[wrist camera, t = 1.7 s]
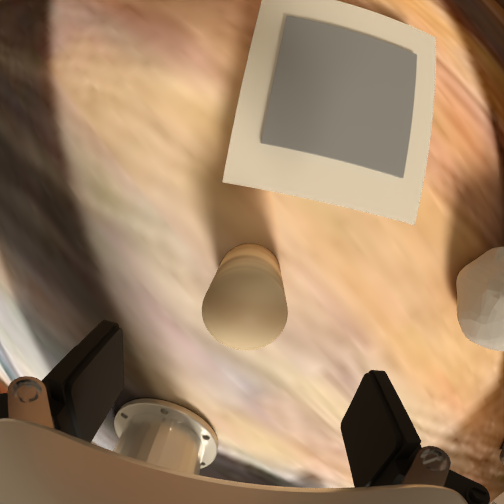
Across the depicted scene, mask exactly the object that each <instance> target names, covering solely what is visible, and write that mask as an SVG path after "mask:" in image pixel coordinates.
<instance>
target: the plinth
mask: <svg viewBox="0 0 504 504" xmlns="http://www.w3.org/2000/svg"><path fill="white" fill-rule="evenodd" d="M435 75H436V37H434V36H432V35H429V34H427V33H425V32H423V31H421V30H419V29H416V28H414V27H412V26H409V25H407V24H405V23H402V22H400V21H397V20H395V19H392V18H390V17H387V16H384V15H381V14H379V13H376V12H373V11H370V10H367V9H364V8H361V7H358V6H354V5H351V4H348V3H344V2H341V1H337V0H262V2H261V6H260V10H259V14H258V18H257V22H256V26H255V30H254V34H253V38H252V42H251V47H250V51H249V55H248V59H247V64H246V68H245V73H244V77H243V82H242V86H241V91H240V95H239V100H238V105H237V110H236V114H235V119H234V124H233V129H232V134H231V139H230V144H229V149H228V154H227V160H226V165H225V170H224V175H223V181H222V182H223V183H229V184H235V185H240V186H246V187H251V188H256V189H262V190H267V191H272V192H277V193H282V194H287V195H292V196H296V197H301V198H306V199H310V200H315V201H319V202H324V203H328V204H333V205H337V206H341V207H345V208H350V209H354V210H358V211H362V212H366V213H370V214H374V215H378V216H382V217H386V218H389V219H393V220H397V221H401V222H404V223H408V224H412V225H415V221H416V217H417V213H418V208H419V203H420V198H421V193H422V188H423V183H424V177H425V171H426V165H427V159H428V152H429V145H430V137H431V128H432V119H433V108H434V94H435Z"/></svg>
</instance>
